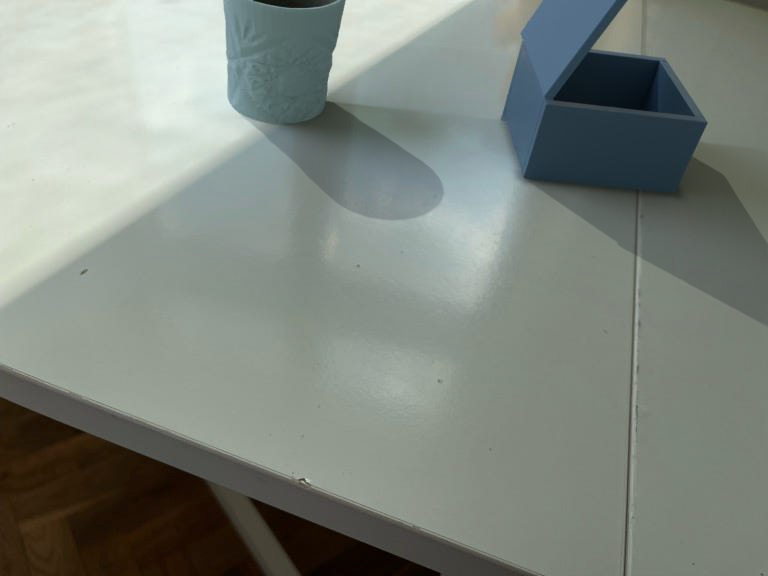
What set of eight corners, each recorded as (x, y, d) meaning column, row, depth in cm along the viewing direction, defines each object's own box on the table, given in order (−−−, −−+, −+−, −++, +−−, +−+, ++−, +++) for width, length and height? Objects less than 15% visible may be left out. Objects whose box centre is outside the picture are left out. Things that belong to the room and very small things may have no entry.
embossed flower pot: (254, 74, 76) (258, -53, 68) (350, 104, 74) (366, -22, 66) (200, 119, 68) (197, -17, 61) (305, 154, 67) (317, 18, 59)
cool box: (633, 136, 78) (665, 57, 72) (669, 205, 69) (708, 122, 63) (500, 121, 76) (522, 40, 70) (519, 190, 67) (546, 104, 62)
